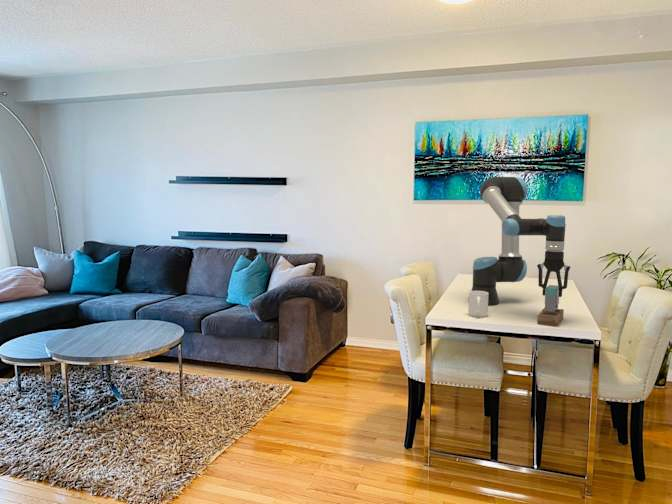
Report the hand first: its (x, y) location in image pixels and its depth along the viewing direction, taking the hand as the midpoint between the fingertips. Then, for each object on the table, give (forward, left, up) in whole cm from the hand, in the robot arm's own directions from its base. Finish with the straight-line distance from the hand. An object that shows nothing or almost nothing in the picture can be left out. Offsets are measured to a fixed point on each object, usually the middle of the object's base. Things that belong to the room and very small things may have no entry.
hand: (551, 303), depth 228 cm
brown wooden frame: (0, 0, -8) cm, 8 cm away
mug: (-30, -8, -8) cm, 32 cm away
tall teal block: (0, 0, -3) cm, 3 cm away
